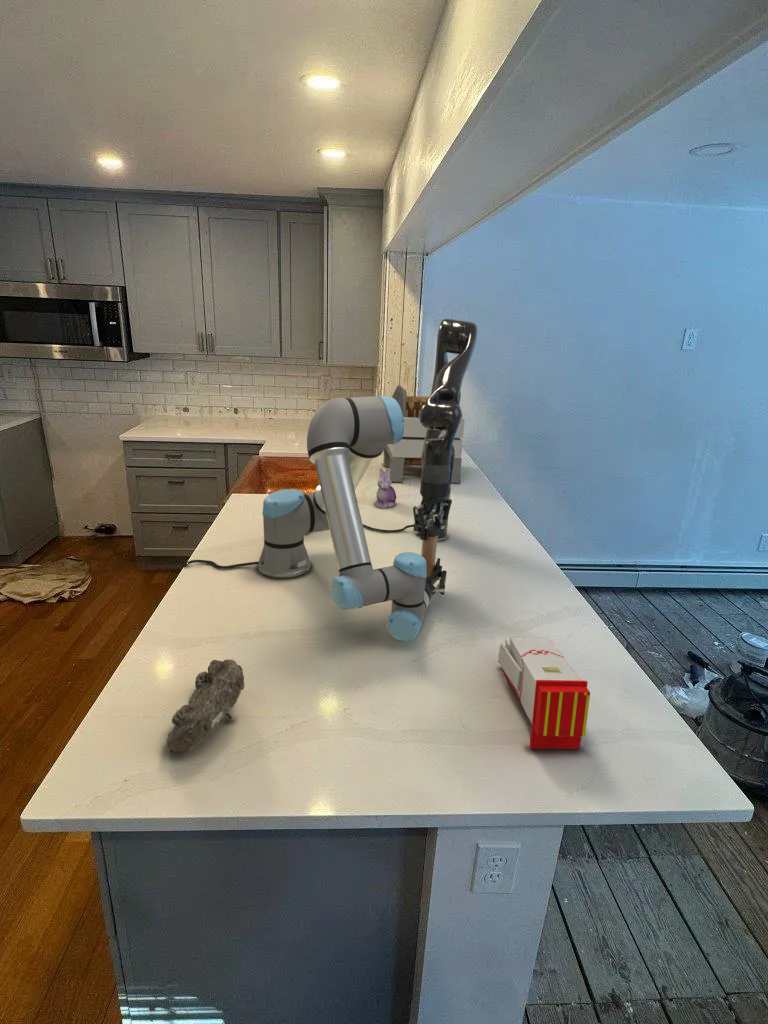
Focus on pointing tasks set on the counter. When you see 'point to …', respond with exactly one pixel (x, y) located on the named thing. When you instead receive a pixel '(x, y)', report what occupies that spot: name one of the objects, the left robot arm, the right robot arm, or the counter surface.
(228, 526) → the counter surface
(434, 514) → the right robot arm
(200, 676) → the fossil
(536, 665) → the toy
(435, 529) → the lid
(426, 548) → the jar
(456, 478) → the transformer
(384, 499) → the figurine
